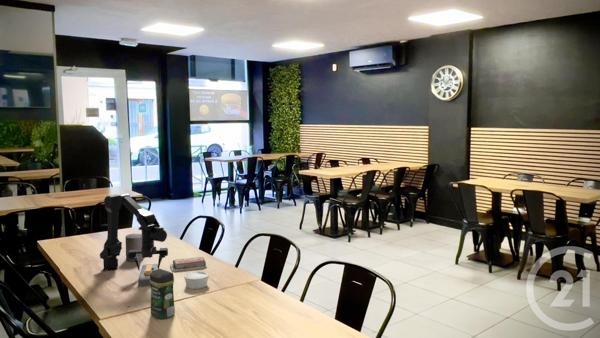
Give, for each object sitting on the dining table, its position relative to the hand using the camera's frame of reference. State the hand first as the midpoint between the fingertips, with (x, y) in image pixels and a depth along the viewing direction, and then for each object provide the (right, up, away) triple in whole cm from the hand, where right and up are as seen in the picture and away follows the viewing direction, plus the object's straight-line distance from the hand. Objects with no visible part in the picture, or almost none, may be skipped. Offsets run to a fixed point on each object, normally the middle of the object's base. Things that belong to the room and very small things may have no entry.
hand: (148, 269), depth 232 cm
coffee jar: (+20, -9, -44) cm, 49 cm away
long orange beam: (0, -4, 0) cm, 4 cm away
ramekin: (+26, -6, -11) cm, 29 cm away
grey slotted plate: (0, -4, 0) cm, 4 cm away
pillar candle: (-17, -1, +30) cm, 35 cm away
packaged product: (+16, -3, +17) cm, 23 cm away
